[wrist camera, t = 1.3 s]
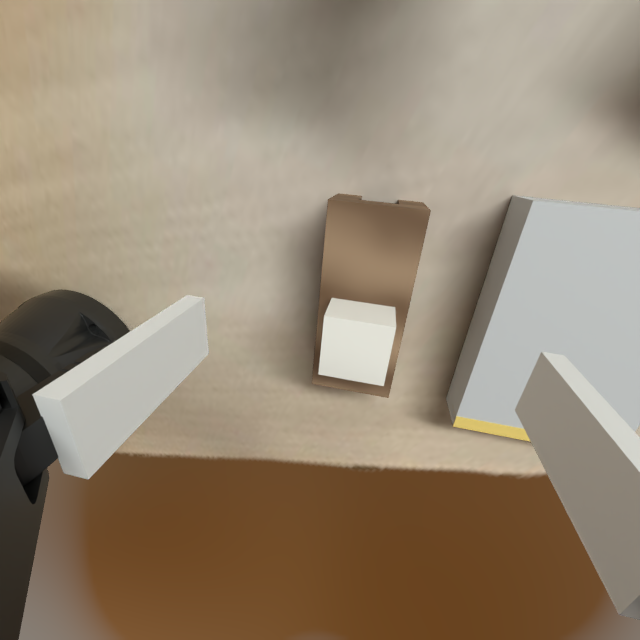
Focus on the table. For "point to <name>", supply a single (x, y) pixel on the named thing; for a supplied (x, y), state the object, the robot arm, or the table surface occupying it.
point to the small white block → (357, 341)
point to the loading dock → (553, 311)
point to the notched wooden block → (370, 267)
